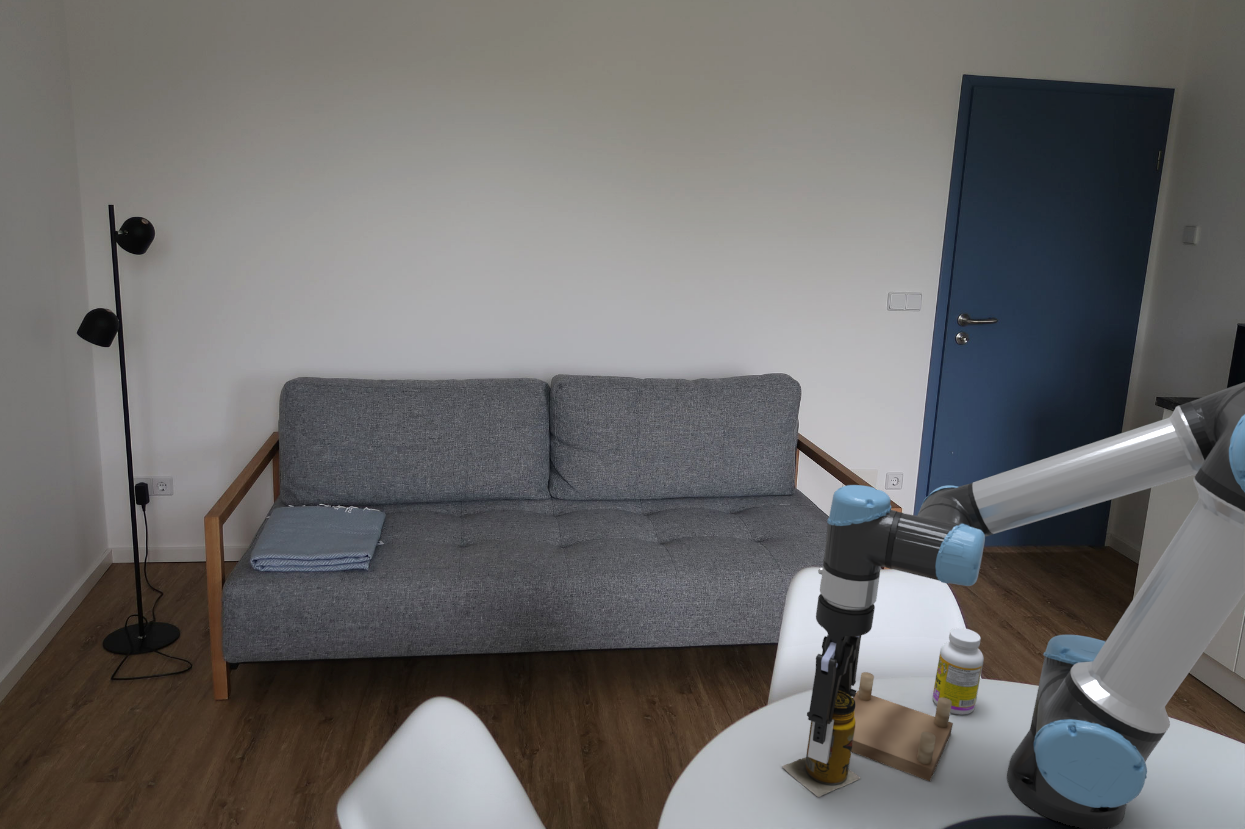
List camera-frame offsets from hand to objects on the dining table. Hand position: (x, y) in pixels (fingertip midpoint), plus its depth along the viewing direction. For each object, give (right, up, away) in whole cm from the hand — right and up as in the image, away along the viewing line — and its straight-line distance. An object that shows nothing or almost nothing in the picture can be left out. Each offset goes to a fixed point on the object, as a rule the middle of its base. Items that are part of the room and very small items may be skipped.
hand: (826, 746), depth 126 cm
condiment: (-1, -4, 0) cm, 4 cm away
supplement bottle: (+26, -1, +20) cm, 32 cm away
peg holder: (+12, -2, +10) cm, 16 cm away
